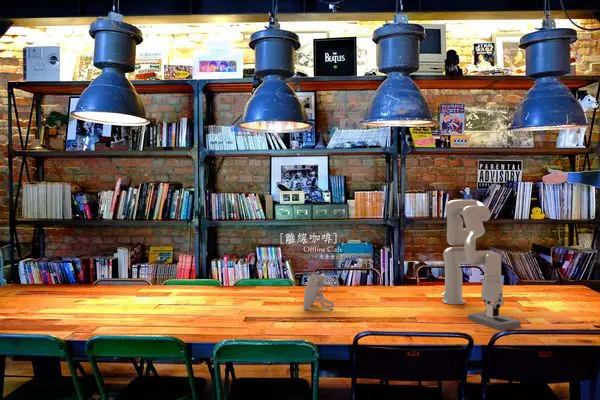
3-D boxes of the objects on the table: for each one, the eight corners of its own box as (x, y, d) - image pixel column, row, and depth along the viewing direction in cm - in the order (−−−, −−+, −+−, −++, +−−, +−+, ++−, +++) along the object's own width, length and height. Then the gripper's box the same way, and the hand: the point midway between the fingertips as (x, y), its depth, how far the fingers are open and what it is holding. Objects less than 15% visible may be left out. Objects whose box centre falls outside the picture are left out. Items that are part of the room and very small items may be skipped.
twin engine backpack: (331, 318, 269) (340, 282, 267) (297, 308, 272) (306, 273, 270) (335, 309, 286) (343, 276, 284) (304, 300, 289) (312, 267, 287)
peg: (486, 321, 249) (486, 304, 248) (492, 320, 250) (492, 303, 250) (492, 323, 245) (492, 305, 245) (498, 322, 247) (498, 305, 246)
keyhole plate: (468, 319, 253) (468, 314, 253) (489, 315, 259) (489, 311, 259) (498, 330, 235) (498, 324, 235) (520, 326, 241) (520, 321, 241)
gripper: (474, 275, 253) (474, 311, 254) (500, 282, 238) (499, 320, 239) (485, 274, 256) (485, 309, 257) (511, 280, 241) (511, 318, 242)
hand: (492, 314), depth 248 cm, fingers closed on peg, 4 cm apart
